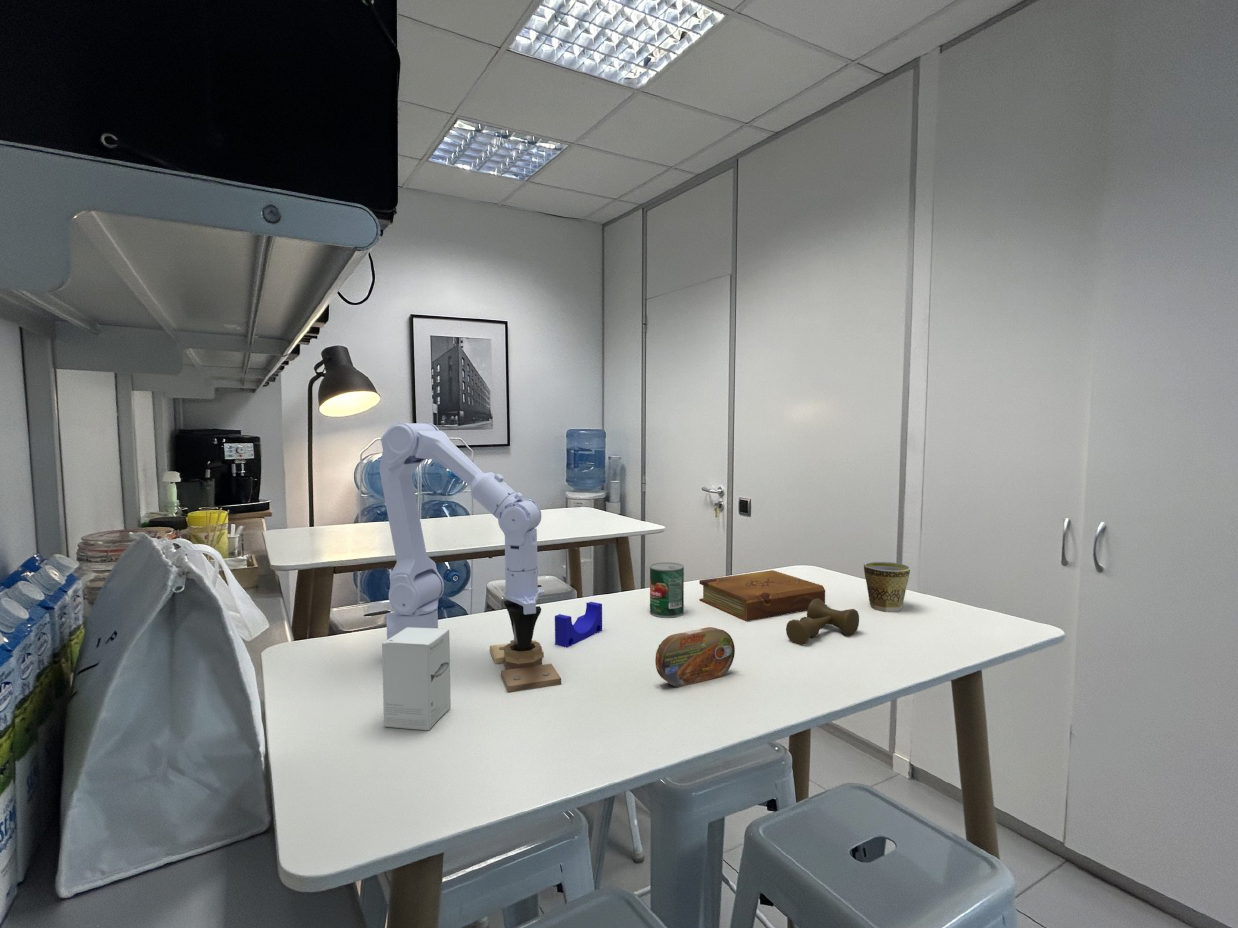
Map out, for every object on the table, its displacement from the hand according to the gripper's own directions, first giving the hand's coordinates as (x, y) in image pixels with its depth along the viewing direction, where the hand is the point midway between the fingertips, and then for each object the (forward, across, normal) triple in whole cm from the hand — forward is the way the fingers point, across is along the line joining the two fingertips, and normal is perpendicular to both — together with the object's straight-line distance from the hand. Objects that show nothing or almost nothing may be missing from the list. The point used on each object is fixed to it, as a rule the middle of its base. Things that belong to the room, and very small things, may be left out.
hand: (522, 642), depth 112 cm
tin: (+5, -16, -26) cm, 31 cm away
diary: (+5, +18, -62) cm, 64 cm away
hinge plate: (+4, -3, 0) cm, 6 cm away
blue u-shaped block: (+5, +12, -13) cm, 19 cm away
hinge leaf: (+4, +3, 0) cm, 6 cm away
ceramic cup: (+5, +6, -88) cm, 88 cm away
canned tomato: (+5, +20, -38) cm, 43 cm away
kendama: (+5, -5, -62) cm, 62 cm away
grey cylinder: (+1, 0, 0) cm, 1 cm away
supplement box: (+5, -14, +18) cm, 24 cm away
